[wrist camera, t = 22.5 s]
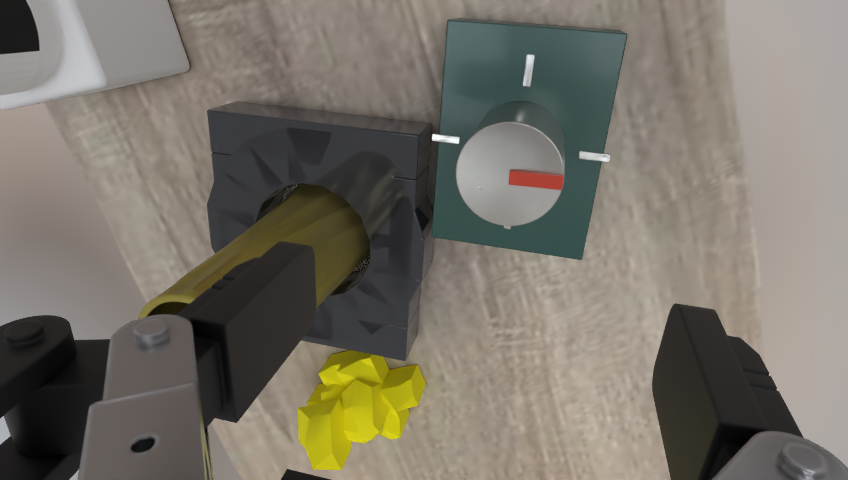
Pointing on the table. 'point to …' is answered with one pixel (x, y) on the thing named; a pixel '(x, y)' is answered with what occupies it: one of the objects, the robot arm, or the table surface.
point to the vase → (290, 222)
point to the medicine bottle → (83, 47)
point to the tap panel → (536, 83)
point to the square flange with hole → (348, 178)
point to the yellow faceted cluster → (356, 406)
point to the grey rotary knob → (513, 164)
